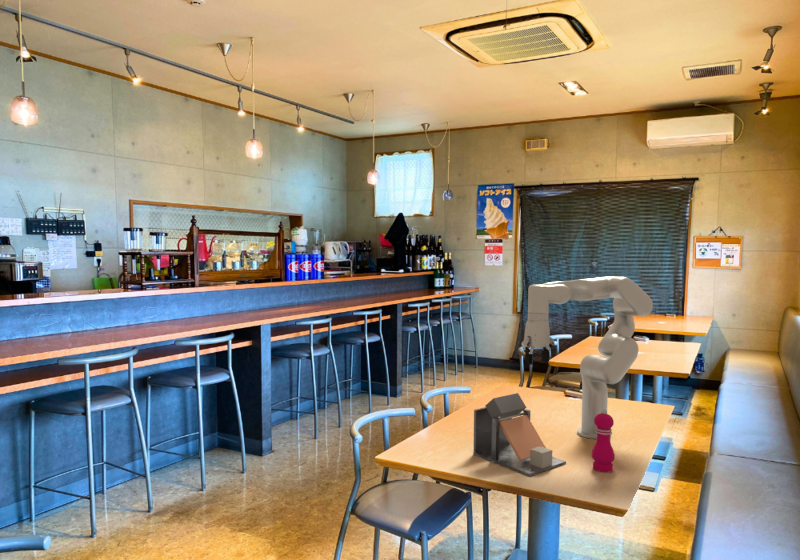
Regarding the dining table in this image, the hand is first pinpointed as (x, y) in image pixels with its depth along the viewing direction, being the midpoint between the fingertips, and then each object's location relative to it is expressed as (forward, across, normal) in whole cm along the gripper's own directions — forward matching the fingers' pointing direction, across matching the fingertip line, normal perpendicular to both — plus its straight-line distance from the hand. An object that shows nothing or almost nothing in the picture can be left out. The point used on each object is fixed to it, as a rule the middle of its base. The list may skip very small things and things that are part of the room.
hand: (537, 362), depth 210 cm
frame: (+30, +19, +8) cm, 37 cm away
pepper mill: (+31, +4, +30) cm, 43 cm away
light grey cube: (+27, +19, +14) cm, 36 cm away
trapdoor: (+21, +19, +5) cm, 29 cm away
